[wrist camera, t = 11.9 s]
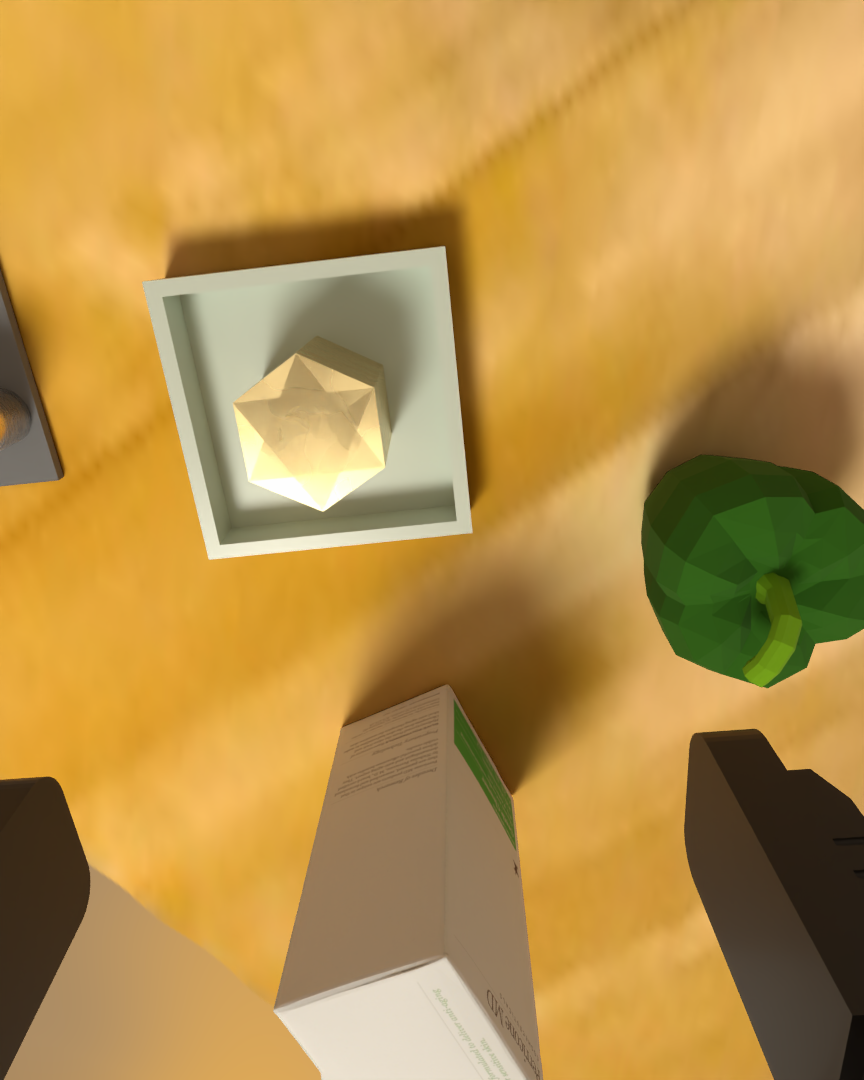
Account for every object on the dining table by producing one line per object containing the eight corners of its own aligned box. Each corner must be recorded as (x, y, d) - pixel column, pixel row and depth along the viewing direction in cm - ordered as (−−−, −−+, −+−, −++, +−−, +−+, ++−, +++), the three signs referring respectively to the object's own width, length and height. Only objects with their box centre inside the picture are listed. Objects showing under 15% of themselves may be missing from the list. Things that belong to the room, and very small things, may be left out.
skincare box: (514, 797, 40) (561, 1119, 25) (402, 840, 41) (386, 1171, 26) (446, 675, 37) (455, 958, 22) (328, 723, 38) (264, 1024, 23)
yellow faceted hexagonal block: (255, 342, 30) (223, 361, 26) (378, 328, 30) (368, 345, 25) (281, 478, 32) (256, 518, 28) (396, 466, 32) (390, 504, 28)
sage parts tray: (164, 278, 30) (142, 281, 28) (444, 245, 29) (445, 246, 27) (224, 537, 34) (208, 559, 32) (469, 512, 34) (472, 533, 31)
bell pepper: (730, 386, 32) (854, 449, 22) (832, 522, 34) (983, 630, 25) (572, 512, 34) (626, 617, 24) (678, 632, 36) (764, 770, 27)
